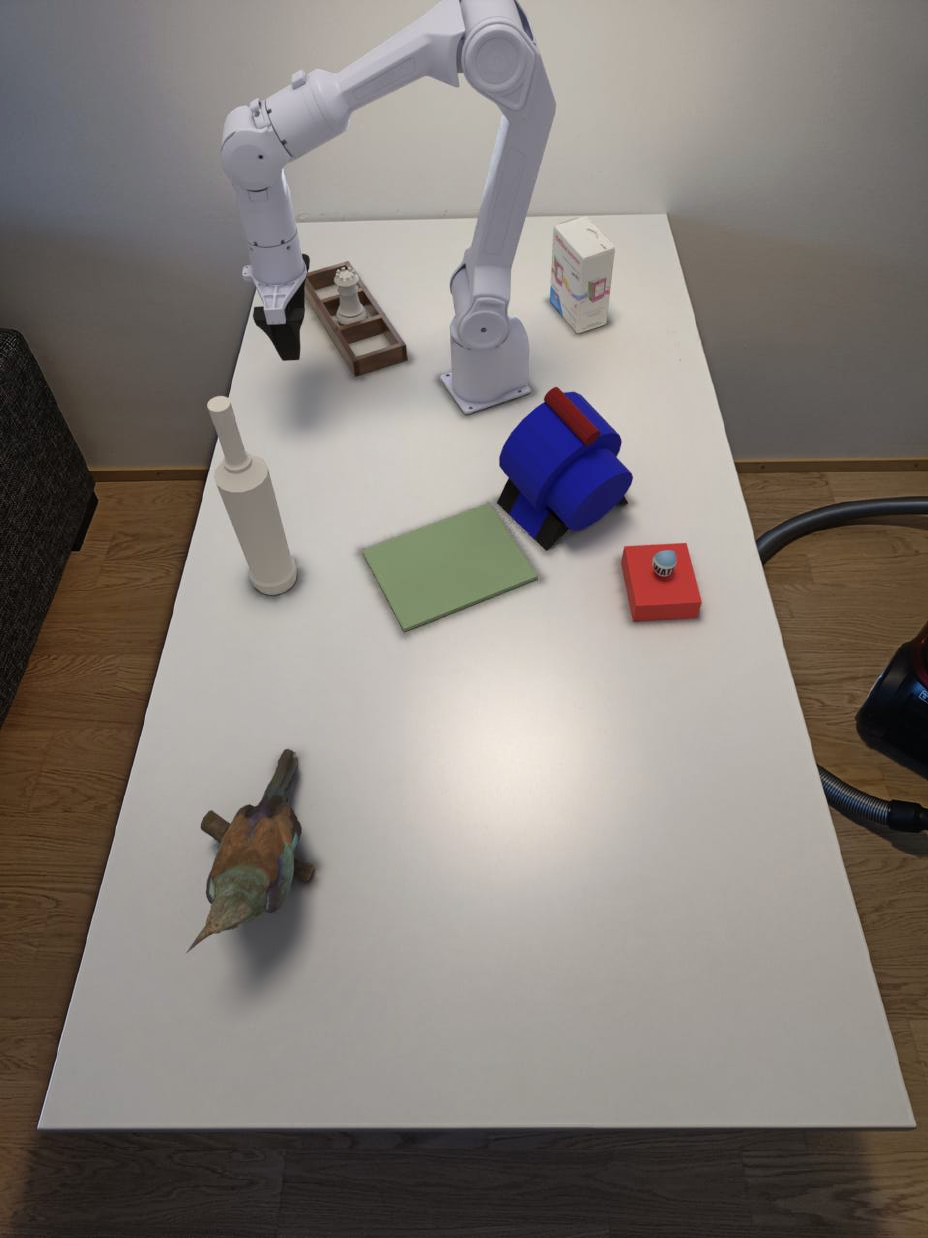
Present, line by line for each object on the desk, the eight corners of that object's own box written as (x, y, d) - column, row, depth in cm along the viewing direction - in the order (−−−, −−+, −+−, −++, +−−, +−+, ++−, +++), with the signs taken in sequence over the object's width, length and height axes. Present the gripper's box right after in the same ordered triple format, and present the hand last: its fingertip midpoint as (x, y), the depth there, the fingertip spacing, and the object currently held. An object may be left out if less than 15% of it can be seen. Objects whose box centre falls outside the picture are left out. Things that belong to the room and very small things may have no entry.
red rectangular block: (696, 617, 94) (708, 581, 88) (632, 621, 93) (641, 585, 88) (681, 558, 98) (692, 521, 93) (621, 562, 98) (628, 524, 93)
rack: (350, 275, 130) (348, 260, 128) (407, 359, 118) (406, 344, 116) (301, 290, 128) (298, 274, 126) (355, 376, 117) (352, 361, 115)
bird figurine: (231, 745, 85) (151, 767, 65) (333, 750, 85) (284, 775, 65) (221, 885, 84) (138, 952, 64) (324, 892, 84) (272, 960, 64)
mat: (489, 505, 103) (489, 502, 103) (537, 579, 97) (538, 575, 96) (362, 553, 100) (361, 549, 99) (404, 632, 93) (403, 629, 93)
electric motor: (571, 453, 108) (583, 353, 95) (640, 513, 102) (662, 415, 90) (492, 498, 104) (493, 399, 92) (559, 563, 98) (570, 467, 86)
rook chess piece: (354, 337, 121) (346, 286, 115) (330, 326, 123) (321, 274, 116) (375, 321, 123) (369, 270, 117) (351, 309, 125) (343, 258, 118)
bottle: (290, 600, 96) (236, 427, 75) (245, 592, 97) (179, 420, 76) (304, 563, 99) (256, 387, 78) (260, 556, 100) (201, 380, 79)
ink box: (546, 300, 125) (551, 222, 115) (577, 291, 126) (585, 212, 117) (576, 335, 121) (584, 256, 111) (607, 324, 122) (618, 246, 112)
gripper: (240, 196, 99) (265, 301, 110) (225, 274, 91) (254, 379, 102) (303, 194, 99) (321, 299, 110) (294, 271, 91) (315, 376, 102)
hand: (293, 337), depth 106 cm, fingers open, 7 cm apart
